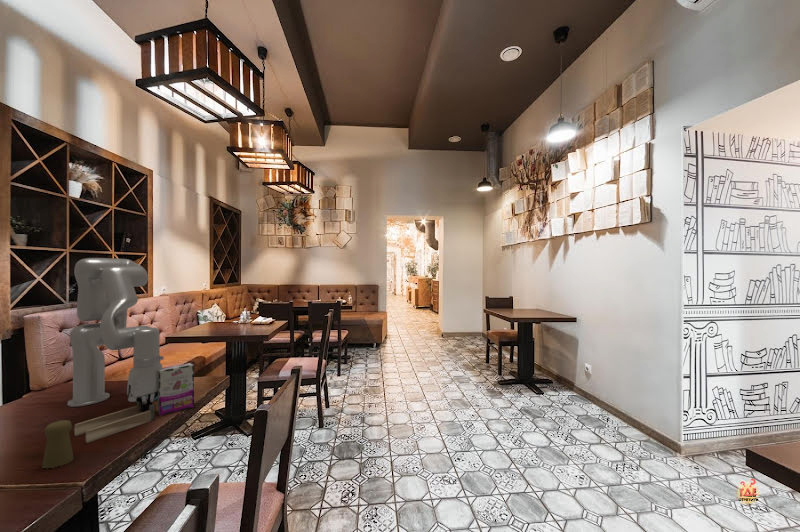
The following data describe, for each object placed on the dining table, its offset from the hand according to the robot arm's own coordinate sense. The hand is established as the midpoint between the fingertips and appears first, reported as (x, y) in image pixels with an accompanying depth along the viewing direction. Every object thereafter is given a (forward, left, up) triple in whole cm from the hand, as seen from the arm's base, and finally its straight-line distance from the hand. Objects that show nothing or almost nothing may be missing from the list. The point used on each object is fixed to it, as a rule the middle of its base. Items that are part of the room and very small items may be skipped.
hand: (146, 413), depth 118 cm
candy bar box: (+3, +8, -2) cm, 9 cm away
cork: (+12, -26, -2) cm, 28 cm away
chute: (0, -9, -1) cm, 9 cm away
